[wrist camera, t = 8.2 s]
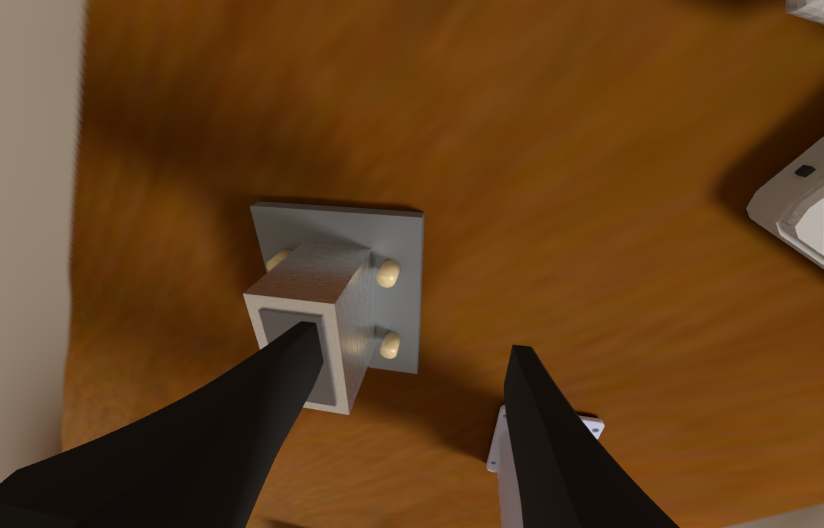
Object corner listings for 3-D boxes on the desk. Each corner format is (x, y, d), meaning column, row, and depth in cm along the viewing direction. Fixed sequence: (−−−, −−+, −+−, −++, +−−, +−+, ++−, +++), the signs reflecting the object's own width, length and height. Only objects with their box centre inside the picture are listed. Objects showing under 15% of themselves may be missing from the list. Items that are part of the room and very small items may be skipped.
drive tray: (418, 364, 24) (414, 389, 22) (293, 347, 26) (278, 369, 24) (424, 212, 18) (418, 227, 16) (259, 201, 20) (233, 213, 17)
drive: (376, 343, 23) (348, 417, 17) (319, 335, 23) (275, 405, 18) (371, 248, 19) (333, 306, 13) (303, 242, 19) (240, 295, 14)
